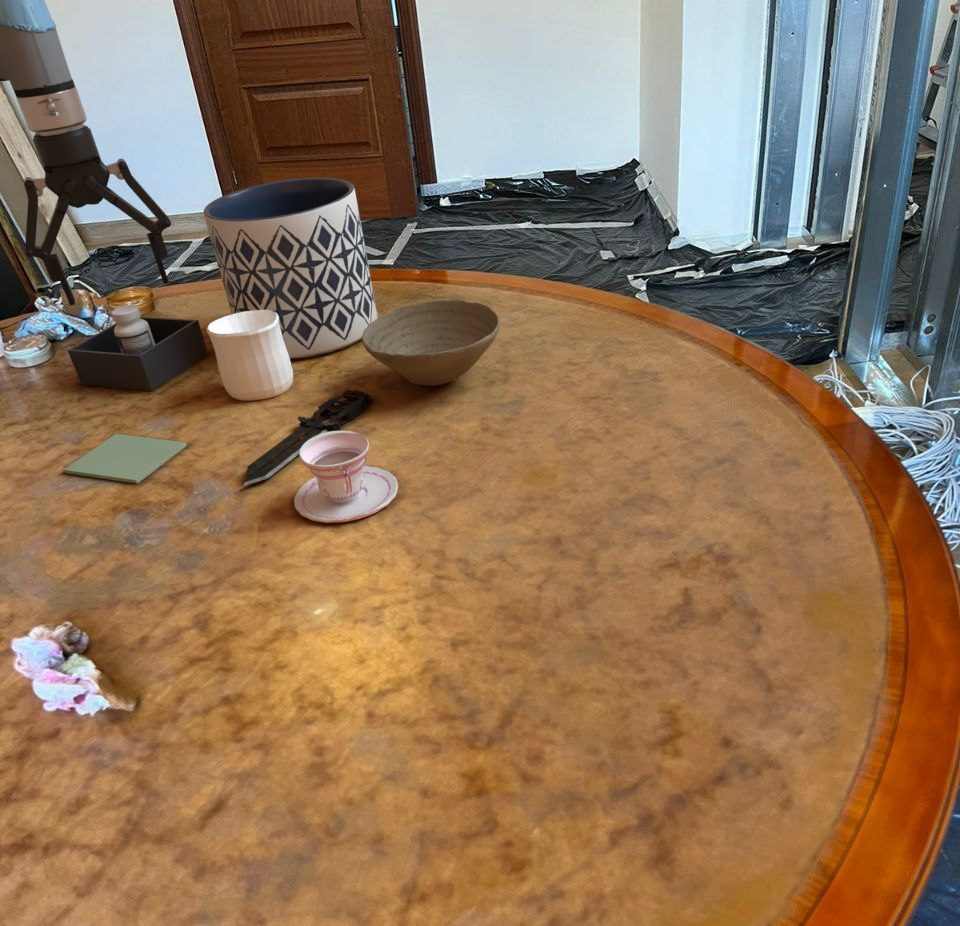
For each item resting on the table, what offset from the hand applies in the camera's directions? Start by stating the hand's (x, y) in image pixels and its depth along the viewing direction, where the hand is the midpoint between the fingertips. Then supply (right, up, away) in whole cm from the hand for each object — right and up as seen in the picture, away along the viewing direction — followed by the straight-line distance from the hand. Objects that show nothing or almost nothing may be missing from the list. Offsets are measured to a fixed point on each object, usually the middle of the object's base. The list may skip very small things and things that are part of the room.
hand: (119, 291), depth 131 cm
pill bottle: (+1, -9, +8) cm, 12 cm away
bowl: (+47, -15, -7) cm, 50 cm away
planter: (+26, -2, +12) cm, 29 cm away
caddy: (+1, -9, +8) cm, 12 cm away
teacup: (+38, -35, -29) cm, 60 cm away
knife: (+31, -26, -18) cm, 45 cm away
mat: (+8, -28, -16) cm, 33 cm away
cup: (+22, -15, -3) cm, 27 cm away
